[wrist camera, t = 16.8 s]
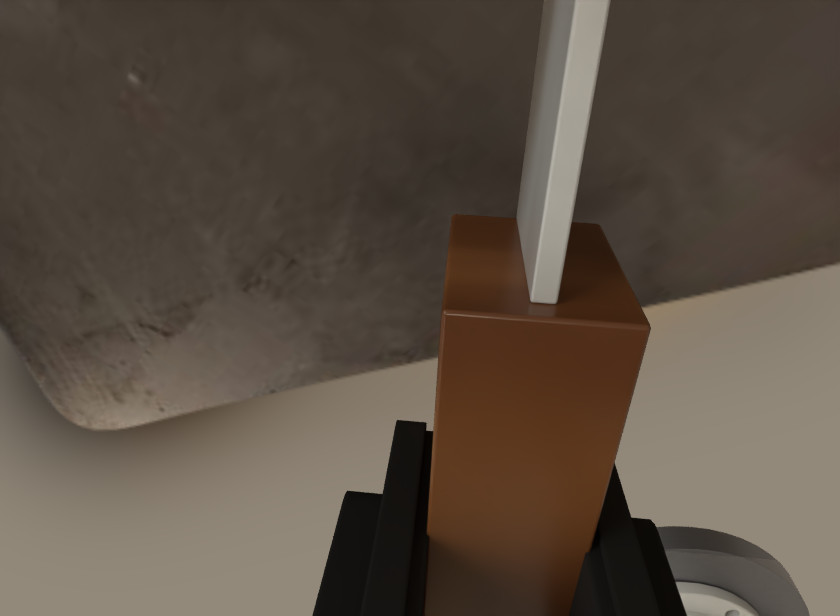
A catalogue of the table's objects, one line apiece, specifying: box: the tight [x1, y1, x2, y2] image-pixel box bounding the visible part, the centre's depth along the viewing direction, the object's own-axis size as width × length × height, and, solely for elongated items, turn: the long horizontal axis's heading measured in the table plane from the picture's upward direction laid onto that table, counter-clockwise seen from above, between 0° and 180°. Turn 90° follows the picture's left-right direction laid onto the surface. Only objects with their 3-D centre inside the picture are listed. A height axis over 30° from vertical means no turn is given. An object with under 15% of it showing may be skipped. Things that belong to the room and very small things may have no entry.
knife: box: [423, 0, 651, 616], centre depth 7 cm, size 21×2×3 cm, turn 178°
